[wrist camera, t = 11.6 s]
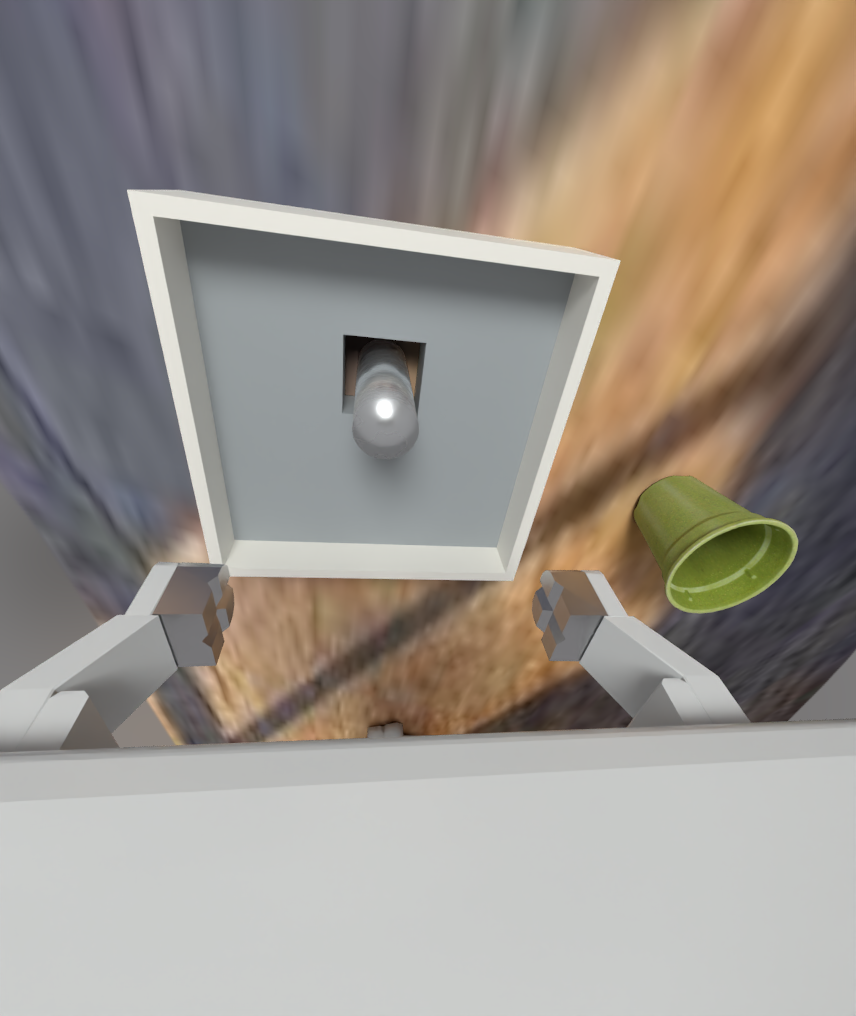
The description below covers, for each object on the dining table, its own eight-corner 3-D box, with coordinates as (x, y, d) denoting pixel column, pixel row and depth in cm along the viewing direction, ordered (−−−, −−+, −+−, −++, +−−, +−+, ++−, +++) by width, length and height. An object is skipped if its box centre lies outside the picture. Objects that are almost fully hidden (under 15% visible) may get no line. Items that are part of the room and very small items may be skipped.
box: (574, 247, 26) (620, 260, 21) (495, 532, 39) (513, 580, 34) (179, 189, 23) (127, 189, 18) (234, 523, 35) (212, 576, 30)
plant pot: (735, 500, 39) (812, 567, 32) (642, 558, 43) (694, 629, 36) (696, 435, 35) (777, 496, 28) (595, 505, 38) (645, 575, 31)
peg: (408, 341, 28) (422, 401, 20) (403, 389, 30) (415, 461, 22) (358, 336, 28) (353, 395, 20) (357, 384, 30) (351, 457, 22)
